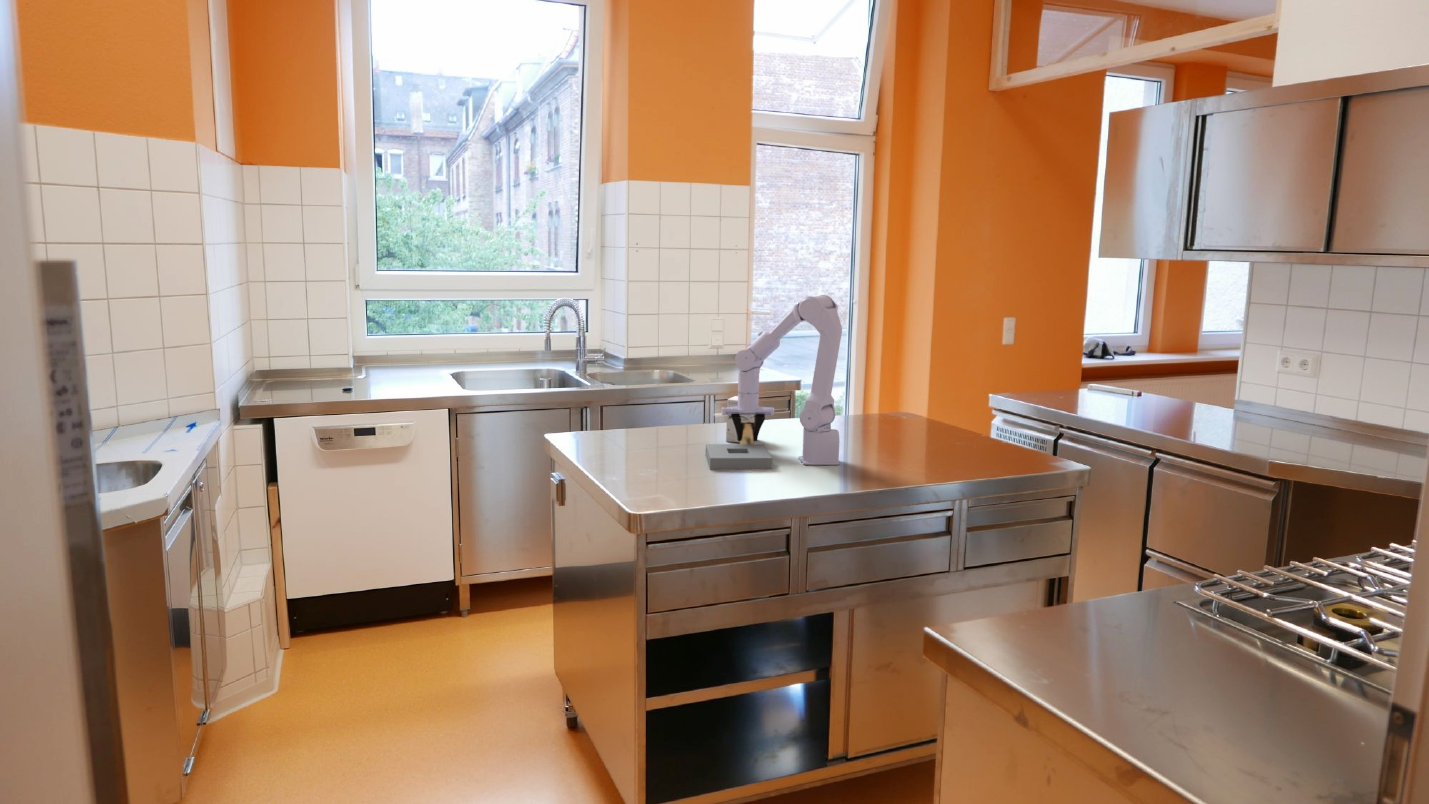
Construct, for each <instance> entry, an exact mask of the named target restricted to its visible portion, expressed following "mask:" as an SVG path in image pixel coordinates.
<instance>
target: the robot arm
mask: <svg viewBox="0 0 1429 804" xmlns="http://www.w3.org/2000/svg"><path fill="white" fill-rule="evenodd" d="M838 308H839V305H838V304H837V303H836V302H835V301H834V300H833V299H832V297H831V296H829V295H826V294H821V295H815V296H808V295H807V296H804V297H803V298H802V299H801V300H800V301H799V302H798V303H796V304H795V305H793V307H792V309H790V311H789V312H787V314H786V315H785V316H784V317H783V318H782V319H781V320H780V321H779V322H778V323H777V324H776V325H775V326H774V327H773V329H771V330H764V331H760V332H759V333H757V338H756V339H754V340H753V341H752V342H751V343H748V344H747V345H746V349H740V350H738V352H737V353H736V355H735V357H734V363H735V366H736V368H737V369H738V376H737V377H738V383H737V384H738V385H737V396H738V407H727V406H726V407H723V406H722V407H721V416H727V415H731V418H732V420H733V423H734V426H735V429H736V433H737V440H738V441H741V434H740V427H741V418H740V415H754V422H755V433H754V442H757V441H758V437H759V434H760V431H761V428H762V426H763V424H764V422H765V420H766V416H775V408H774V407H770V406H769V407H767V406H766V407H765V406H759V398H760V395H759V394H760V392H759V391H760V374H761V373H760V372H761V368H762V366H763V364H764V362H765V360H766V359H768V357H769V356H770V355H771V354H773V352H775V351H776V350H777V349H778V348H779V347H780V342H781V339H783V337H785V336H786V335H788V333H789V332H791V331H792V330H793V329H794V328H796V327H797V326H798V325H799V324H800V323H802V322H807V323H808V324H810V325H811V326H813V327H814V328H815V330H816V331H817V332H818V333H819V342H818V348H817V352H816V354H817V355H816V360H815V367H814V372H813V378H812V385H811V388H810V389H811V390H810V393H809V395H808V396H807V398H806V399H805V402H804V406H803V408H802V410H800V413H799V423H800V424H801V426H802V427H803V433H802V434H803V435H802V455H799V456H798V459H799V460H800V461H801V463H802V464H803V465H807V466H808V465H809V466H811V465H813V466H814V465H815V466H818V465H819V466H824V465H825V466H828V465H829V466H832V465H835V466H836V465H840V461H839V460H840V459H839V457H840V432H839V430H838V429H836V428H835V429H834V428H833V429H832V426H831V424H832V423H833V422H834V421H835V419H836V409H835V399H834V397H833V396H832V391H833V385H834V381H835V375H836V368H837V362H838V357H839V350H840V344H841V340H842V334H843V326H842V324H841V323H842V322H841V320H840V317H839V313H838Z"/></svg>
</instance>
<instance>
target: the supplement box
mask: <svg viewBox="0 0 1429 804" xmlns="http://www.w3.org/2000/svg"><path fill="white" fill-rule="evenodd" d="M726 403H727V404H726V405H727V406H726V407H738V395H735V396H732V397H730V398H728V399H727V402H726ZM740 418H741V422H743V421H751V422H754V415H740ZM725 433H726V434H725V441H726V442H733V443H740V441H738V440H737V433H736V429H735V426H734V423H733V420H732V418H731V415H726V431H725Z"/></svg>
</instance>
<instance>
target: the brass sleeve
mask: <svg viewBox="0 0 1429 804" xmlns="http://www.w3.org/2000/svg"><path fill="white" fill-rule="evenodd" d="M754 433H755V422H751V421H743V422H741V427H740V434H741V441H740V442H739V444H755V441H754Z"/></svg>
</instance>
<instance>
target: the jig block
mask: <svg viewBox="0 0 1429 804" xmlns="http://www.w3.org/2000/svg"><path fill="white" fill-rule="evenodd" d="M704 456H705V458H706V461H707V464H708V467H709V470H716V471H717V470H719V471H720V470H722V471H723V470H724V471H725V470H731V471H732V470H735V471H737V470H773V457H772V455H771V453H770V451H769V450H768V448H767V447H766V445H765V444H763V443H754V444H740V443H723V444H722V443H706V444H705V455H704Z"/></svg>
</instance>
